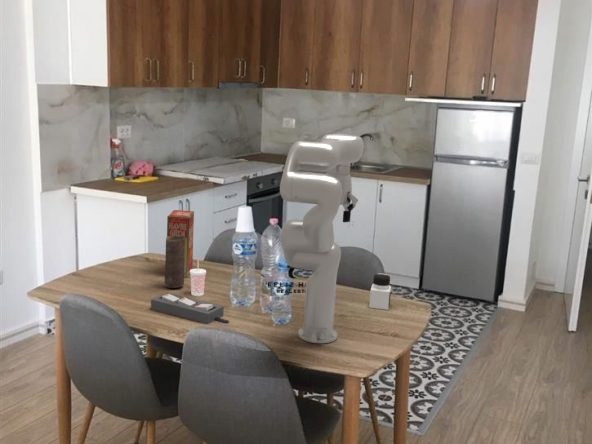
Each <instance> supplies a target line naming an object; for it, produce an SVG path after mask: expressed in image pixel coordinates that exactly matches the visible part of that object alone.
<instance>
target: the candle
mask: <svg viewBox="0 0 592 444" xmlns="http://www.w3.org/2000/svg"><path fill="white" fill-rule="evenodd" d="M184 258H185V236H182V235H177V236H171V237H170V236H169V237H167V236H166V237H165V258H164V259H165V262H164V263H165V266H164V285H165V287H167V288H169V289H174V288H181V287H183V286H184V285H185V278H184Z"/></svg>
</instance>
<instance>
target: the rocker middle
mask: <svg viewBox="0 0 592 444" xmlns="http://www.w3.org/2000/svg"><path fill="white" fill-rule="evenodd" d="M178 304H182V305H186V306H193V305H195V304H196V302H194V301H191V300H189V299H187V298H182V299H180V300H178Z"/></svg>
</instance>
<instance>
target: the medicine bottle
mask: <svg viewBox="0 0 592 444" xmlns="http://www.w3.org/2000/svg"><path fill="white" fill-rule="evenodd" d="M390 284H391V277H390V275H388V274H385V273H376V274H374V275H373V280H372V284H371V288H370V292H369V305H368V306H369V308H370V309H377V310H385V311H389V310H390V305H391V293H392V292H391V291H392V286H391V285H390Z"/></svg>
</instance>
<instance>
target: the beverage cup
mask: <svg viewBox="0 0 592 444" xmlns="http://www.w3.org/2000/svg"><path fill="white" fill-rule="evenodd" d="M199 263H200V257H197V266H196V267H197V268H193V269H191V270H190V274H189V276H190V291H191V295H192V296H195V297H200V296H204V292H205V281H206V274H207V270H206V269H204V268H200V267H199V266H200V264H199Z"/></svg>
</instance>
